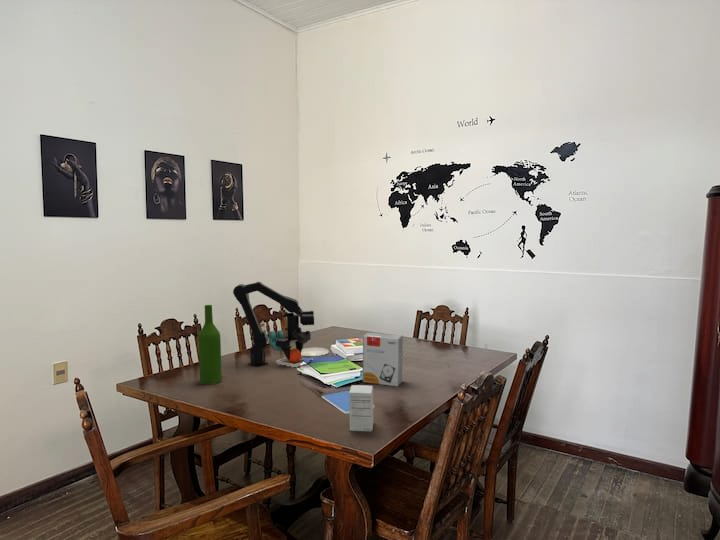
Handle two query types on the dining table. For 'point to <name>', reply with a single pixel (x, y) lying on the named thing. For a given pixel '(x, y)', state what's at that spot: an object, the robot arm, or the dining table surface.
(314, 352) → the cream plate
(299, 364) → the white flat square frame
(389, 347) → the hard drive box
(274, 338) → the bracket
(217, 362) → the wine bottle
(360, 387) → the supplement box
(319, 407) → the dining table surface
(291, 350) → the clementine
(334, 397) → the tablet computer
